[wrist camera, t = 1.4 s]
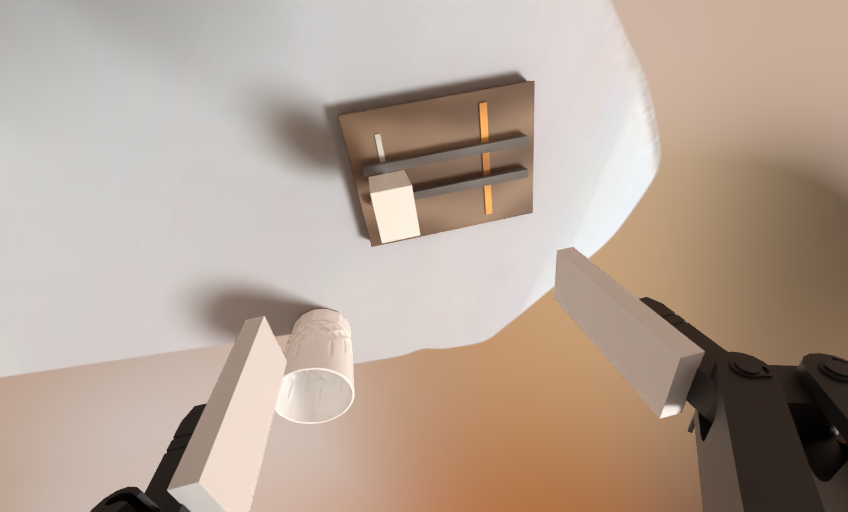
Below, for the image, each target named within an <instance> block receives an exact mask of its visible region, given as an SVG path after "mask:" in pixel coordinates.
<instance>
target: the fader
mask: <svg viewBox="0 0 848 512" xmlns="http://www.w3.org/2000/svg"><path fill="white" fill-rule="evenodd" d="M369 187H370V195H371V199H372V203H373V207H374V212H375V216H376V220H377V224H378V228H379V233H380V237H381V241H382V243H387V242H392V241H396V240H401V239H406V238H410V237H415V236H420V230H419V224H418V218H417V212H416V206H415V201H414V195H413V189H412V185H411V183H410V181H409V179H408V177H407V175H406V173H405V171H404V170H402V171H397V172H392V173H386V174H381V175H376V176H371V177H369Z"/></svg>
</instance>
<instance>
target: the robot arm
mask: <svg viewBox="0 0 848 512" xmlns="http://www.w3.org/2000/svg"><path fill="white" fill-rule="evenodd" d="M554 299H555V300H556V302H557V303H558V304H559V305H560V306H561V307H562V308H563V309H564V310H565V312H566V313H567V314H568V315H569V316H570V317H571V319H572V320H573V321H574V322H575V323H576V324H577V325H578V326H579V328H580V329H581V330H582V331H583V332H584V333H585V334H586V335H587V337H588V338H589V339H590V340H591V341H592V342H593V343H594V345H595V346H596V347H597V348H598V349H599V350H600V351H601V352H602V354H603V355H604V356H605V357H606V358H607V359H608V360H609V361H610V363H611V364H612V365H613V366H614V367H615V368H616V369H617V370H618V372H619V373H620V374H621V375H622V376H623V377H624V378H625V379H626V381H627V382H628V383H629V384H630V385H631V386H632V387H633V389H634V390H635V391H636V392H637V393H638V394H639V395H640V396H641V398H642V399H643V400H644V401H645V402H646V403H647V404H648V406H649V407H650V408H651V409H652V410H653V411H654V412H655V413H656V415H657V416H658V417H659V418H664V417H667V416H671V415H675V414H678V413H682V411H683V408H684V405H685V402H686V400H687V401H688V402H689V403H690V404H691V405H692V406H693V407H694V408H695V409H696V410H695V413H694V415H693V417H692V420H691V422H690V425H689V428H688V432H691V433H692V432H693V429H694V427H695V434H696V444H697V454H698V465H699V474H700V484H701V495H702V505H703V512H848V361H847V360H844V359H842V358H838V357H836V356H832V355H826V354H820V353H818V354H808V355H806V356H804V357H803V359H802V360H801V362H800V364H799V365H798V366H781V365H767V364H766V363H764V362H763V361H761V360H759V359H757V358H755V357H753V356H750V355H747V354H744V353H738V352H727V351H726V350H724V349H723V348H721V347H720V346H719V345H717V344H716V343H715V342H713V341H712V340H711V339H709V338H708V337H707V336H705V335H704V334H703V333H701V332H700V331H699V330H697V329H696V328H695V327H693V326H692V325H691V324H689V323H686V322H685V320H684V319H682V318H681V317H680V316H678V315H675V313H674V312H673V311H671V310H670V309H669V308H668V307H666V306H665V305H664V304H662V303H660V302H657V301H655V300H653V299H650V298H648V297H645V298H641V299H638V298H637V297H635V296H634V295H633V294H632V293H630V292H629V291H628V290H626V289H625V288H624V287H623V286H621V285H620V284H619V283H618V282H616V281H615V280H614V279H613V278H611V277H610V276H609V275H607V274H606V273H605V272H604V271H602V270H601V269H600V268H599V267H597V266H596V265H595V264H594V263H592V262H591V261H590V260H589V259H587V258H586V257H585V256H584V255H582V254H581V253H580V252H578V251H577V250H576V249H575V248H573V247H571V248H566V249H562V250H557V259H556V275H555V292H554ZM286 363H287V361H286V359H285V356H284V354H283V353H282V350H281V349H280V346H279V345H278V342H277V340H276V338H275V336H274V334H273V332H272V330H271V328H270V326H269V324H268V322H267V320H266V318H265V316H260V317H255V318H251V319H246V320H245V322H244V324H243V327H242V329H241V331H240V333H239V335H238V337H237V340H236V342H235V344H234V346H233V348H232V350H231V353H230V355H229V357H228V359H227V361H226V364H225V365H224V368H223V370H222V372H221V374H220V376H219V378H218V381H217V383H216V385H215V387H214V389H213V391H212V394H211V396H210V398H209V400H208V402H207V404H202V405H198V406H194V408H193V409H192V410H191V411H190V412H189V414H188V415H187V416H186V417H185V418H184V419H183V420H182V422H181V423H180V425H179V427H178V429H177V431H176V433H175V435H174V439H173V440H172V441H171V443H170V445H169V447H168V449H167V453H166V454H164V457H163V459H162V460H161V462H160V464H159V466H158V468H157V470H156V472H155V474H154V476H153V478H152V480H151V482H150V484H149V486H148V488H147V490H146V492H145V493H143V492H142V491H141V490H140V489H139V488H137V487H126V488H123V489H120V490H118V491H116V492H114V493H113V494H111V495H109V496H108V497H106V498H105V499H103V500H102V501H101V502H100V503H99V504H98V505H96V506H95V507H94V508H93V509H92V510H91V511H90V512H249V511H250V507H251V503H252V499H253V495H254V491H255V487H256V483H257V479H258V475H259V471H260V467H261V463H262V459H263V455H264V451H265V447H266V443H267V439H268V435H269V431H270V427H271V423H272V419H273V415H274V411H275V407H276V403H277V399H278V395H279V391H280V387H281V383H282V379H283V375H284V371H285V367H286Z"/></svg>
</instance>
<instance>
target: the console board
mask: <svg viewBox="0 0 848 512" xmlns="http://www.w3.org/2000/svg"><path fill="white" fill-rule="evenodd" d="M338 118H339V122H340V125H341V129H342V133H343V137H344V141H345V145H346V149H347V153H348V157H349V160H350V164H351V168H352V172H353V176H354V180H355V184H356V188H357V192H358V195H359V199H360V203H361V207H362V211H363V215H364V219H365V223H366V227H367V230H368V234H369V238H370V242H371V246H372V247H374V246H378V245H383V244H388V243H393V242H397V241H402V240H407V239H411V238H416V237H421V236H425V235H430V234H435V233H440V232H444V231H449V230H454V229H458V228H463V227H468V226H472V225H477V224H482V223H487V222H491V221H496V220H501V219H505V218H510V217H515V216H519V215H524V214H529V213H533V147H534V81H524V82H519V83H513V84H508V85H502V86H497V87H491V88H485V89H480V90H474V91H469V92H463V93H457V94H452V95H446V96H441V97H435V98H430V99H424V100H418V101H413V102H407V103H402V104H396V105H390V106H385V107H379V108H374V109H368V110H363V111H357V112H351V113H346V114H340V115H339V116H338ZM402 170H404V171H405V173H406V175H407V177H408V179H409V181H410V183H411V185H412V189H413V195H414V201H415V206H416V212H417V218H418V224H419V230H420V236H415V237H410V238H406V239H401V240H396V241H392V242H387V243H382V241H381V237H380V233H379V228H378V224H377V220H376V216H375V212H374V207H373V203H372V199H371V195H370V187H369V177H371V176H376V175H381V174H386V173H392V172H397V171H402Z"/></svg>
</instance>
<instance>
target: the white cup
mask: <svg viewBox="0 0 848 512" xmlns="http://www.w3.org/2000/svg"><path fill="white" fill-rule="evenodd" d="M283 354H284V356H285V359H286V361H287V363H286V367H285V371H284V375H283V379H282V383H281V387H280V391H279V395H278V399H277V403H276V407H275V411H276V412H277V413H278V414H279V415H280V416H282V417H284V418H286V419H288V420H290V421H293V422H297V423H304V424H314V423H315V424H316V423H322V422H326V421H329V420H332V419H335V418H337V417H338V416H340V415H341V414H343V413H344V412H345V411H346V410H347V409H348V408H349V407H350V405H351V404H352V402H353V399H354V377H353V355H352V342H351V329H350V326H349V323H348V320H347V319H346V318H345V317H343V316H342V315H341V314H340V313H339V312H336V311H332V310H329V309H314V310H311V311H309V312H307V313H304V314H302V316H301V317H300V318H299V319H298V320H297V321H296V322H295V324H294V327H293V330H292V334H291V336H290V338H289V340H288V342H287V345H286V348H285V351H284V353H283Z"/></svg>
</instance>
